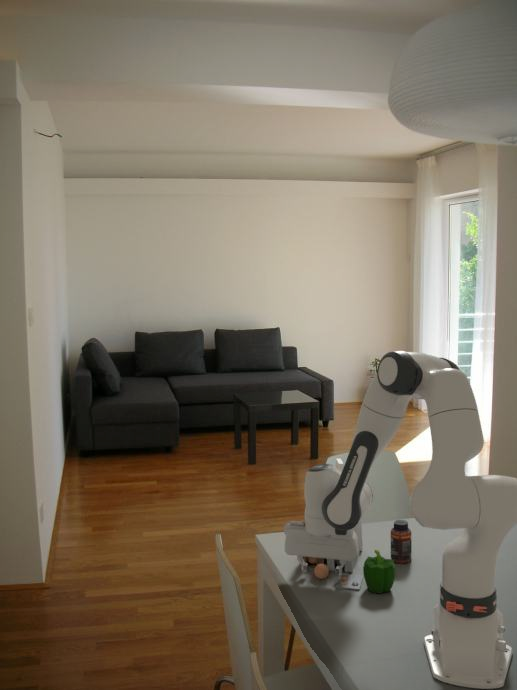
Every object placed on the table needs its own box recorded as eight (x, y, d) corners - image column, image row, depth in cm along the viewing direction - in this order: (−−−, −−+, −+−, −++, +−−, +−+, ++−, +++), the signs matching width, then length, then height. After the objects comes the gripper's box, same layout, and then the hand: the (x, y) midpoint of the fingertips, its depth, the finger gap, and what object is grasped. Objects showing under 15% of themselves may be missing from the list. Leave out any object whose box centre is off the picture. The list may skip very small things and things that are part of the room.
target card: (359, 590, 185) (359, 588, 185) (336, 588, 187) (336, 586, 187) (363, 577, 193) (363, 575, 193) (341, 575, 194) (341, 573, 194)
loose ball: (327, 582, 190) (327, 567, 190) (313, 580, 192) (312, 566, 191) (330, 575, 194) (330, 561, 194) (315, 574, 195) (315, 560, 195)
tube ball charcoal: (347, 569, 198) (347, 555, 197) (333, 568, 199) (333, 554, 199) (349, 563, 202) (349, 550, 201) (335, 562, 203) (335, 549, 202)
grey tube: (352, 572, 196) (351, 541, 195) (327, 569, 198) (326, 539, 197) (355, 562, 203) (355, 531, 202) (331, 559, 205) (331, 529, 204)
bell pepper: (394, 598, 181) (394, 560, 179) (362, 595, 183) (361, 558, 181) (396, 583, 189) (396, 547, 188) (365, 580, 191) (365, 545, 190)
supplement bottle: (415, 559, 204) (415, 521, 202) (404, 566, 199) (404, 527, 198) (397, 553, 208) (397, 516, 207) (386, 560, 204) (386, 522, 202)
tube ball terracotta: (319, 566, 200) (319, 553, 200) (305, 565, 201) (305, 551, 201) (322, 561, 204) (321, 547, 204) (308, 559, 205) (308, 546, 205)
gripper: (281, 524, 191) (282, 573, 193) (356, 530, 185) (356, 580, 187) (286, 516, 197) (287, 563, 199) (359, 522, 191) (360, 570, 193)
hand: (321, 572), depth 193 cm, fingers open, 8 cm apart
